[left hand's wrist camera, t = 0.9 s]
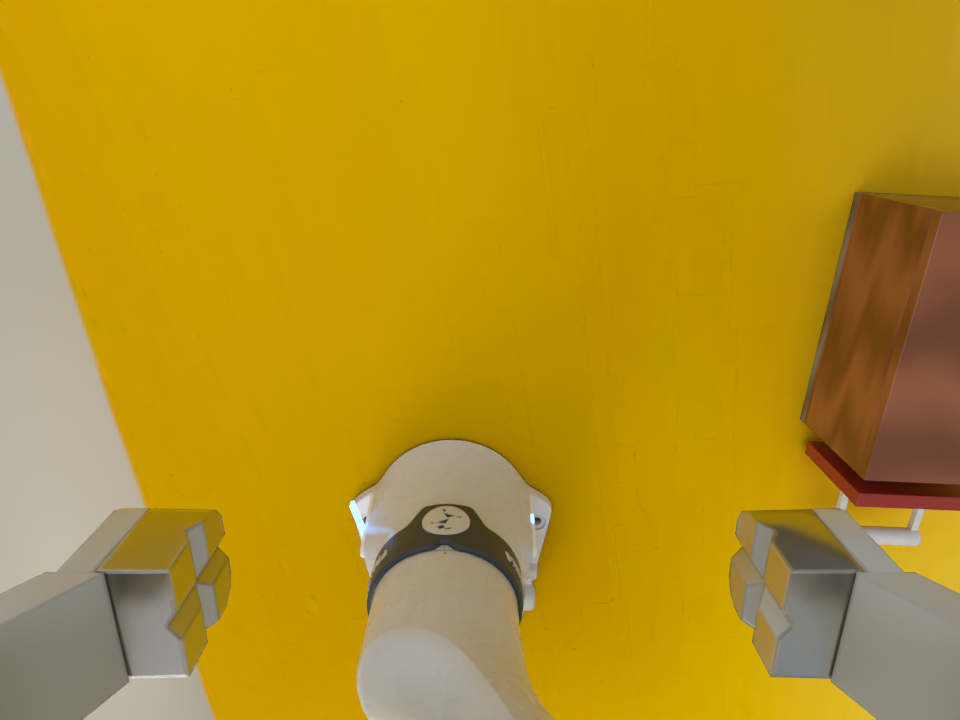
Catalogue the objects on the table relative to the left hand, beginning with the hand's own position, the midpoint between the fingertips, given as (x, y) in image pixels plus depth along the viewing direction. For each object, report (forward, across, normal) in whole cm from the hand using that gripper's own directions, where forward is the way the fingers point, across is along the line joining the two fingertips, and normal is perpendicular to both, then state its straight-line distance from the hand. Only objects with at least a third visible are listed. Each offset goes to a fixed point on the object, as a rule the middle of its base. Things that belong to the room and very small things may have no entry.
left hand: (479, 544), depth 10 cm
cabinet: (+45, +35, -10) cm, 58 cm away
